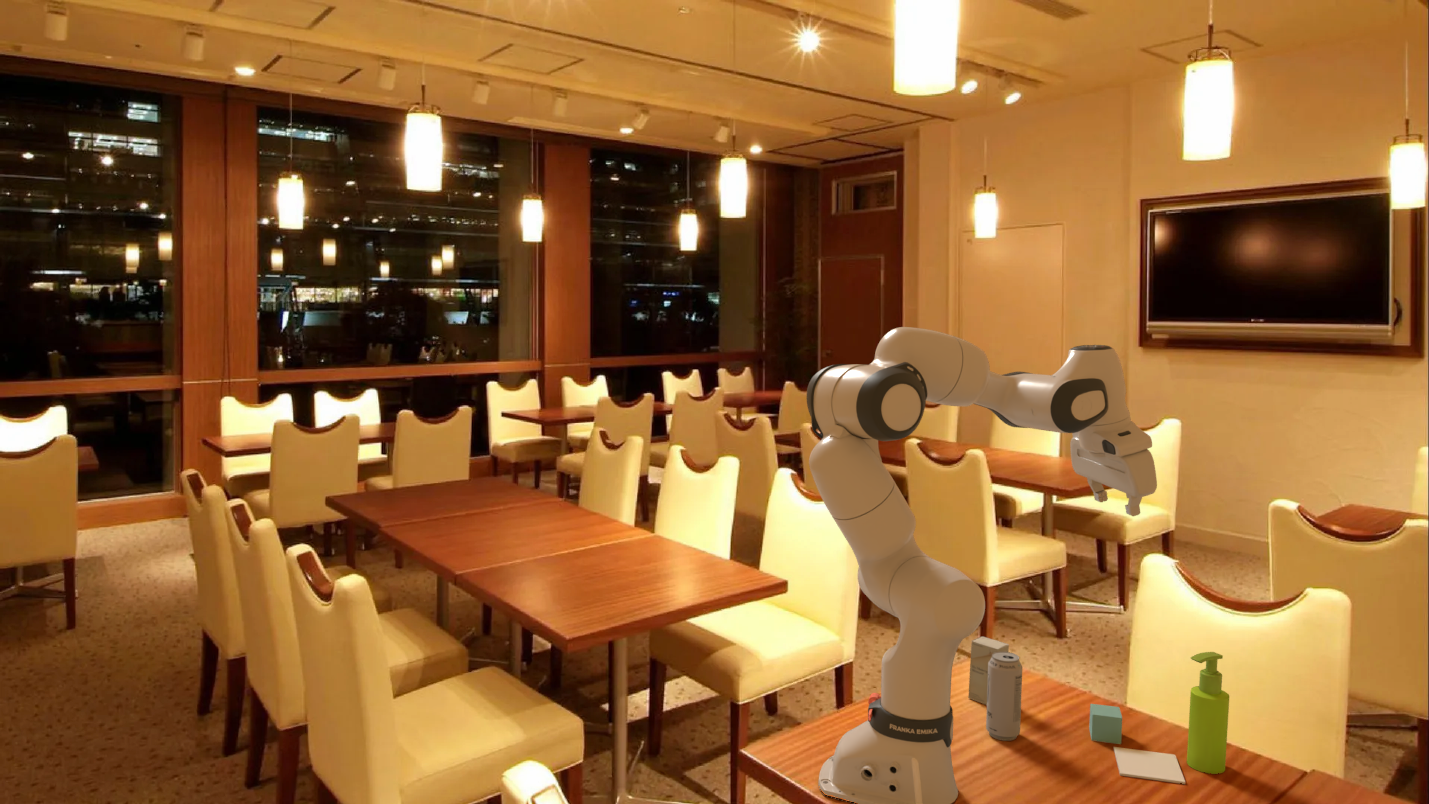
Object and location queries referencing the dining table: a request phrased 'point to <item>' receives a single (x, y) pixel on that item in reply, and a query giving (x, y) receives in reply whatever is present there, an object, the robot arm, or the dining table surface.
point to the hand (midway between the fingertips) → (1117, 507)
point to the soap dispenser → (1208, 718)
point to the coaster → (1148, 765)
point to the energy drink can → (1004, 696)
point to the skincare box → (982, 666)
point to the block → (1105, 723)
